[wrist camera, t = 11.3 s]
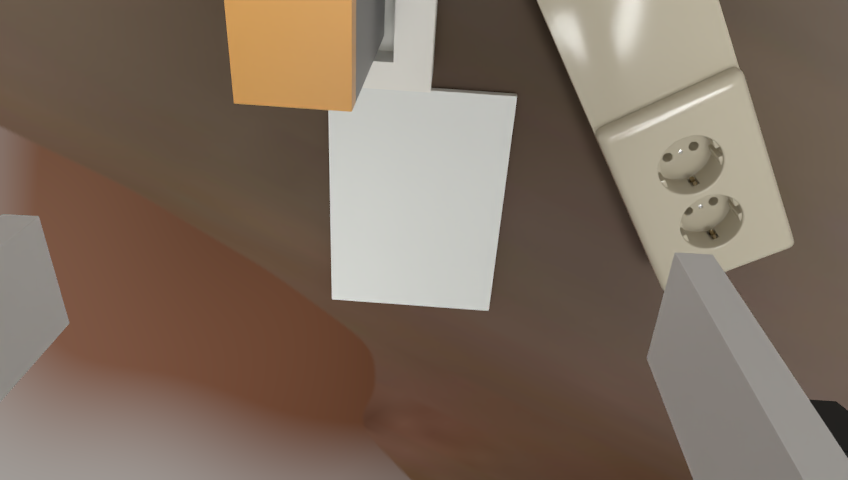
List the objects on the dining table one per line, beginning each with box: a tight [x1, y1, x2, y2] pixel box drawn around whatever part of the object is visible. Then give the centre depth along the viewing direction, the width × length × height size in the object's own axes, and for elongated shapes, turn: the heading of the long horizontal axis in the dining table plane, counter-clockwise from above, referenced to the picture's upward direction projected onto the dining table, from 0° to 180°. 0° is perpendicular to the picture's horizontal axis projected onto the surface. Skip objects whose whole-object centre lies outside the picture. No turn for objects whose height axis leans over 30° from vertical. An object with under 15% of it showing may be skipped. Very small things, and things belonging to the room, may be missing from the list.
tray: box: [328, 88, 517, 311], centre depth 38 cm, size 14×10×1 cm
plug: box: [224, 0, 385, 112], centre depth 26 cm, size 4×4×11 cm
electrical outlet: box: [536, 0, 794, 291], centre depth 33 cm, size 7×4×18 cm
